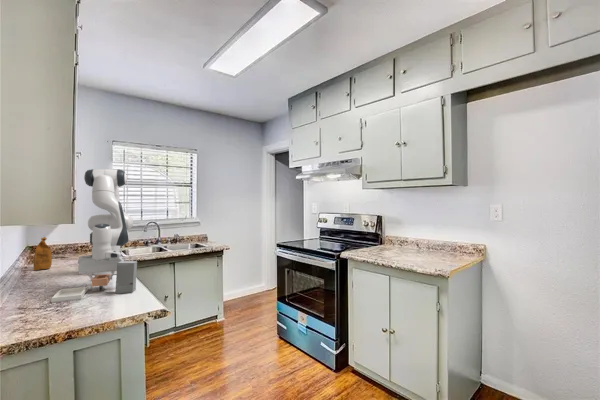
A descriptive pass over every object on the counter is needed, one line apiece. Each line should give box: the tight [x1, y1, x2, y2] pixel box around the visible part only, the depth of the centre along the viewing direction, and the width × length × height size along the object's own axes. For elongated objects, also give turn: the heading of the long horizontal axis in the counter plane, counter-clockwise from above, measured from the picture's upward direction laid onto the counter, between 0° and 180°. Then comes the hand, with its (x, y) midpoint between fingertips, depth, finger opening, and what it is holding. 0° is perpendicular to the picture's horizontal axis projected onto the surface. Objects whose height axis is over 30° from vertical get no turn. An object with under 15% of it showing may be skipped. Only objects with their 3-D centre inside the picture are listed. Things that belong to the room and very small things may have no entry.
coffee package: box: [33, 236, 53, 271], centre depth 210 cm, size 10×12×22 cm
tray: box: [50, 286, 88, 304], centre depth 148 cm, size 16×11×2 cm
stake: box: [97, 286, 105, 292], centre depth 159 cm, size 4×3×5 cm
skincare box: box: [115, 260, 138, 295], centre depth 157 cm, size 8×7×16 cm
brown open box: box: [91, 274, 111, 287], centre depth 160 cm, size 12×7×4 cm, turn 24°
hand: (101, 280), depth 160 cm, fingers closed on brown open box, 7 cm apart
